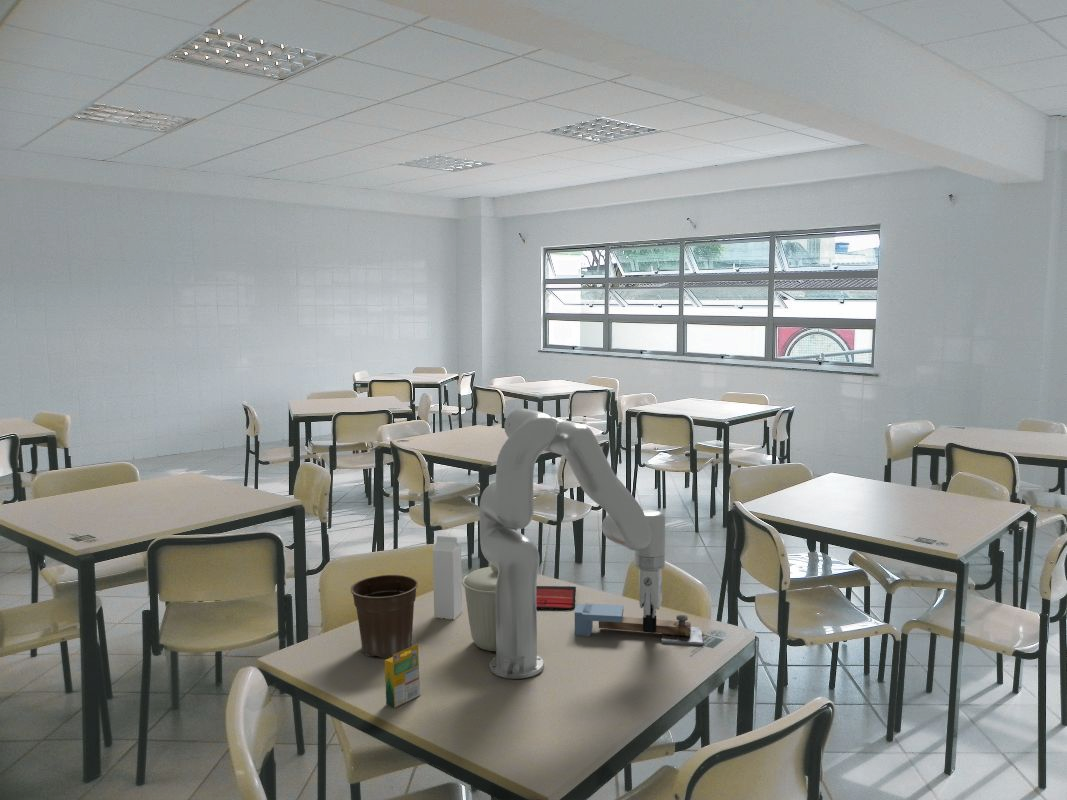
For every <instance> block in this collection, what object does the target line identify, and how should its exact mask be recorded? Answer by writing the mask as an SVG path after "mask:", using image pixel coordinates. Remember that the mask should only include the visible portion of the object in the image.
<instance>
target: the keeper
mask: <svg viewBox="0 0 1067 800" xmlns="http://www.w3.org/2000/svg"><path fill="white" fill-rule="evenodd" d="M623 615H624V604H610V603H609V604H605V603H589V602H588V603H587V602H585V603H584V604H580V603H577V604H576V606H575V609H574V636H584V637H591V635H592V631H593V626H594V625H593V624H594V623H593V622H599V621H603V622H621V623H622V617H624V616H623Z"/></svg>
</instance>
